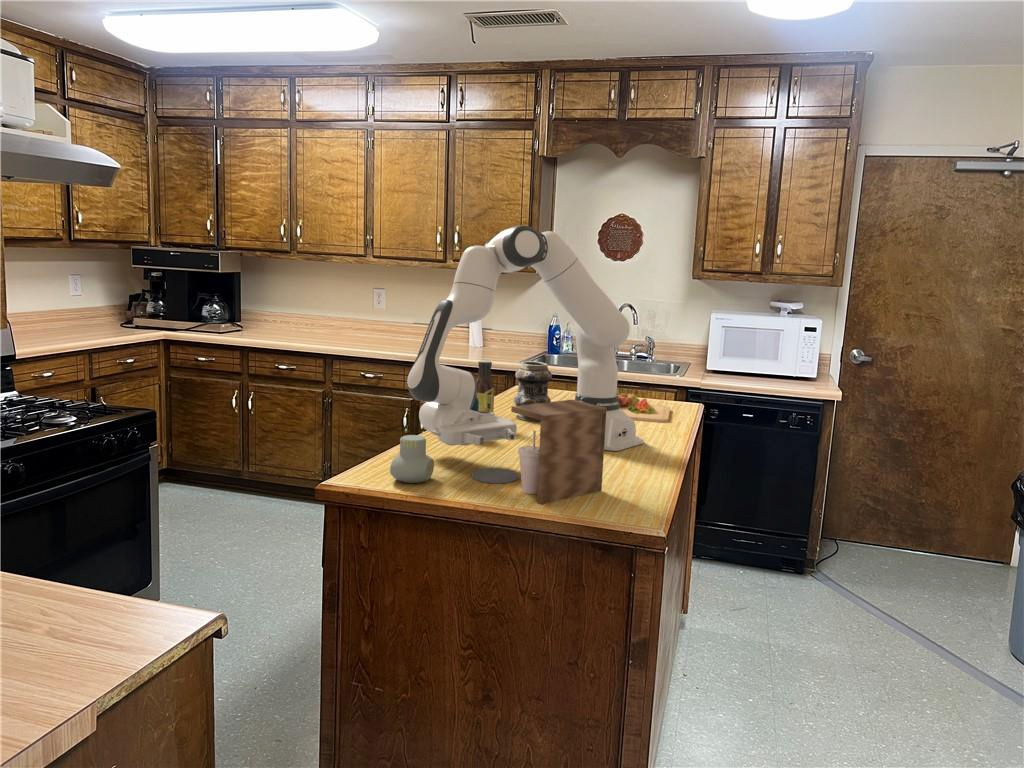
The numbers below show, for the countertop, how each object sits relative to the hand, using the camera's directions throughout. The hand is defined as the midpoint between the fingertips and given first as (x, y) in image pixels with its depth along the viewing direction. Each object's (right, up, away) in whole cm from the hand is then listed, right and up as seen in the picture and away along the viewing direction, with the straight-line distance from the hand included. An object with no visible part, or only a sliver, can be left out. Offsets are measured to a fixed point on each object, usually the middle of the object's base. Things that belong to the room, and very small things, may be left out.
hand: (497, 438), depth 184 cm
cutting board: (+40, +2, +87) cm, 95 cm away
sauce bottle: (-5, 0, +56) cm, 57 cm away
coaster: (0, -9, +2) cm, 9 cm away
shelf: (+13, -11, -7) cm, 18 cm away
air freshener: (-20, -9, -3) cm, 22 cm away
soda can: (-10, -2, +43) cm, 44 cm away
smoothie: (+8, -11, -8) cm, 16 cm away
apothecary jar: (+10, +2, +71) cm, 71 cm away
